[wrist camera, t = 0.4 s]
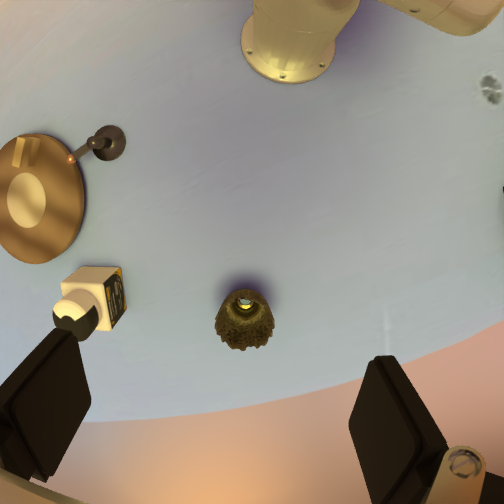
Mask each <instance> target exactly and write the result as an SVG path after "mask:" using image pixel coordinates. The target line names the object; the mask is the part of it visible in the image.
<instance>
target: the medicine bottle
mask: <svg viewBox="0 0 504 504" xmlns="http://www.w3.org/2000/svg"><path fill="white" fill-rule="evenodd" d="M61 289H62V294H63V298H62V299H61V300H60V301H58V302H57V303H56V304H55V306H54V308H53V320H54V323H55V326H56V328H60V329H65V330H70V331H72V333H73V335H74V336H76V337H77V340H78V342H81V341H84V340H86V339H87V338H88V337H89V336H90V335H91V334H92V332H93V331H94V330H103V331H111V330H112V329H113V327H114V326H115V324H116V323H117V322H118V320H119V319H120V318H121V316H122V315H123V313H124V312H125V311H126V302H125V295H124V288H123V281H122V274H121V268H119V267H81V268H79V269H78V270H77V271H75V272H74V273H73V274H71V275H70V276H69V277H67V278H66V279H65V280H64V281H62V282H61Z"/></svg>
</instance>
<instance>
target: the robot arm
mask: <svg viewBox="0 0 504 504" xmlns="http://www.w3.org/2000/svg"><path fill="white" fill-rule="evenodd" d="M377 1H379V2H382V3H384V4H386V5H389V6H391V7H393V8H395V9H397V10H400V11H402V12H404V13H406V14H408V15H410V16H412V17H414V18H416V19H418V20H420V21H422V22H424V23H426V24H428V25H430V26H432V27H434V28H436V29H438V30H440V31H443V32H445V33H448V34H451V35H455V36H469V35H473V34H476V33H478V32H480V31H481V30H483V29H484V28H485V27H487V26H488V25H489V24H490V23H491V22H492V21H493V20H494V19H495V17H496V16H497V15H498V14H499V12H500V11H501V9H502V8H503V6H504V0H377ZM359 3H360V0H254V4H253V14H252V15H251V16H250V17H249V18H248V19H247V21H246V23H245V24H244V26H243V30H242V33H241V47H242V51H243V54H244V56H245V58H246V60H247V62H248V63H249V64H250V66H251V67H252V68H253V69H254V70H255V71H257V72H258V73H259V74H260V75H262V76H264V77H265V78H267V79H270V80H272V81H275V82H279V83H284V84H297V83H303V82H307V81H310V80H312V79H314V78H316V77H318V76H319V75H320V74H322V73H323V72H324V71H325V70H326V69H327V68H328V66H329V65H330V63H331V62H332V60H333V57H334V54H335V47H336V45H335V38H336V36H337V35H338V34H339V33H340V31H341V30H342V29H343V27H344V26H345V25H346V23H347V22H348V21H349V20H350V18H351V17H352V16H353V14H354V13H355V11H356V10H357V8H358V6H359ZM249 52H251V53H252V54H251V55H249V54H248V53H249ZM319 65H322V68H321V67H319ZM281 76H284V79H281ZM90 405H91V395H90V391H89V387H88V384H87V380H86V375H85V371H84V367H83V363H82V358H81V354H80V349H79V344H78V340H77V337H76V336H74V335H73V333H72V331H70V330H65V329H60V328H55V329H53V330H52V331H51V332H50V333H49V334H48V335H47V336H46V337H45V338H44V339H43V340H42V341H41V342H40V344H39V345H38V346H37V347H36V348H35V349H34V350H33V351H32V352H31V353H30V354H29V355H28V356H27V357H26V358H25V359H24V360H23V362H22V363H21V364H20V365H19V366H18V367H17V368H16V369H15V370H14V371H13V373H12V374H11V375H10V376H9V377H8V378H7V379H6V380H5V381H4V383H3V384H2V385H1V386H0V504H88V503H85V502H82V501H79V500H76V499H73V498H70V497H68V496H65V495H62V494H60V493H57V492H54V491H52V490H49V489H47V488H44V487H42V486H39V485H37V484H34V483H32V482H30V481H29V480H30V478H31V476H32V477H33V478H35V479H38V480H40V481H42V482H45V483H46V482H47V480H48V478H49V476H53V475H54V473H55V472H56V470H57V468H58V466H59V464H60V462H61V460H62V458H63V456H64V454H65V452H66V450H67V449H68V447H69V445H70V443H71V441H72V439H73V437H74V435H75V433H76V432H77V429H78V428H79V426H80V424H81V422H82V420H83V419H84V417H85V415H86V413H87V411H88V410H89V408H90ZM349 431H350V434H351V437H352V440H353V443H354V446H355V449H356V453H357V456H358V459H359V462H360V465H361V469H362V472H363V475H364V479H365V482H366V485H367V488H368V492H369V495H370V499H371V502H372V504H504V478H503V477H501V476H498V475H495V474H492V473H489V472H486V462H485V459H484V457H483V456H482V455H481V453H479V452H478V451H477V450H476V449H473V448H471V447H469V446H463V445H462V446H455V447H452V448H450V449H449V447H448V446H447V444H446V443H447V442H446V440H445V438H444V437H443V435H442V433H441V432H440V430H439V428H438V426H437V425H436V423H435V421H434V419H433V418H432V416H431V415H430V413H429V411H428V409H427V408H426V406H425V404H424V403H423V401H422V400H421V398H420V397H419V395H418V393H417V392H416V390H415V388H414V387H413V386H412V383H411V382H410V380H409V379H408V377H407V376H406V374H405V372H404V371H403V369H402V368H401V366H400V364H399V363H398V361H397V360H396V358H395V357H394V356H392V355H388V356H376V357H375V358H374V360H371V361H370V362H369V363H368V366H367V369H366V373H365V376H364V379H363V382H362V385H361V388H360V391H359V394H358V397H357V399H356V402H355V405H354V408H353V411H352V413H351V416H350V419H349Z"/></svg>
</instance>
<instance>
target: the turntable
mask: <svg viewBox="0 0 504 504" xmlns="http://www.w3.org/2000/svg"><path fill="white" fill-rule="evenodd" d="M69 154H71V153H70V152H69V150H68V149H67V148H66V147H65V146H64V145H63V144H62V143H60V142H59V141H58V140H56V139H54V138H53V137H50V136H47V135H43V134H24V135H20V136H18V137H15V138H13V139H12V140H10V141H9V142H8V143H7V144H5V145H4V146H3V147H2V149H1V150H0V244H1V245H2V247H3V248H4V249H5V250H6V251H7V252H8V253H9V254H10V255H12V256H13V257H14V258H16V259H18V260H20V261H22V262H25V263H29V264H41V263H45V262H48V261H50V260H52V259H54V258H55V257H57V256H58V255H60V254H62V253H63V252H64V251H65V250H66V249H67V248H68V247H69V246H70V245H71V243H72V242H73V240H74V239H75V237H76V235H77V233H78V231H79V228H80V225H81V222H82V217H83V211H84V188H83V182H82V178H81V174H80V171H79V169H78V166H77V164H76V162H75V163H74V164H68V163H67V160H66V159H67V156H68V155H69Z"/></svg>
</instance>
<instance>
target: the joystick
mask: <svg viewBox="0 0 504 504" xmlns="http://www.w3.org/2000/svg"><path fill="white" fill-rule="evenodd" d="M125 143H126V140H125V135H124V133H123V132H122V130H121V129H119V128H118V127H115V126H104V127H102V128H100V129H99V130H98V131H97V132H96V133H95V135H94V136H91V137H89V138H88V140H87V143H86V144H84V145H83V146H81V147H80V148H79V149H77V150H76V151H75V152H73V153H72V154H69V155H68V156H67V159H66V160H67V163H68V164H74V163H75V162H76V160H78V159H79V158H81V157H82V156H83V155H85V154H86V153H87V152H89V151H90V150H92V149H93V152H94V154H95V155H96V157H97V158H99V159H100V160H103V161H111V160H114V159H116V158H118V157H119V156H120V155H121V154H122V152H123V151H124V148H125Z"/></svg>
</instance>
